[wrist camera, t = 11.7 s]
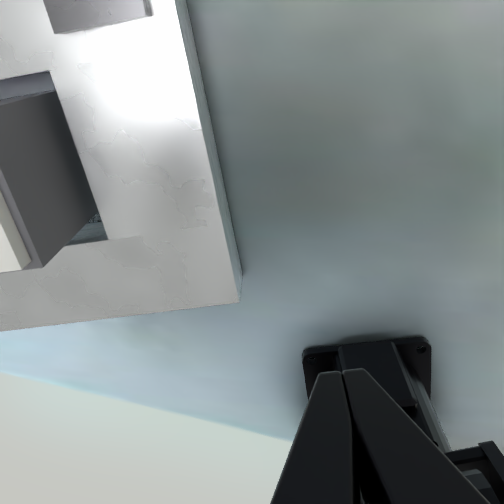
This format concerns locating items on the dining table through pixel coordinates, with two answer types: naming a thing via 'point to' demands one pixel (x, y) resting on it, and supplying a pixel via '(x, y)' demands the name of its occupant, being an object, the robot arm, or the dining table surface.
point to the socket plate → (125, 163)
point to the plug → (39, 182)
